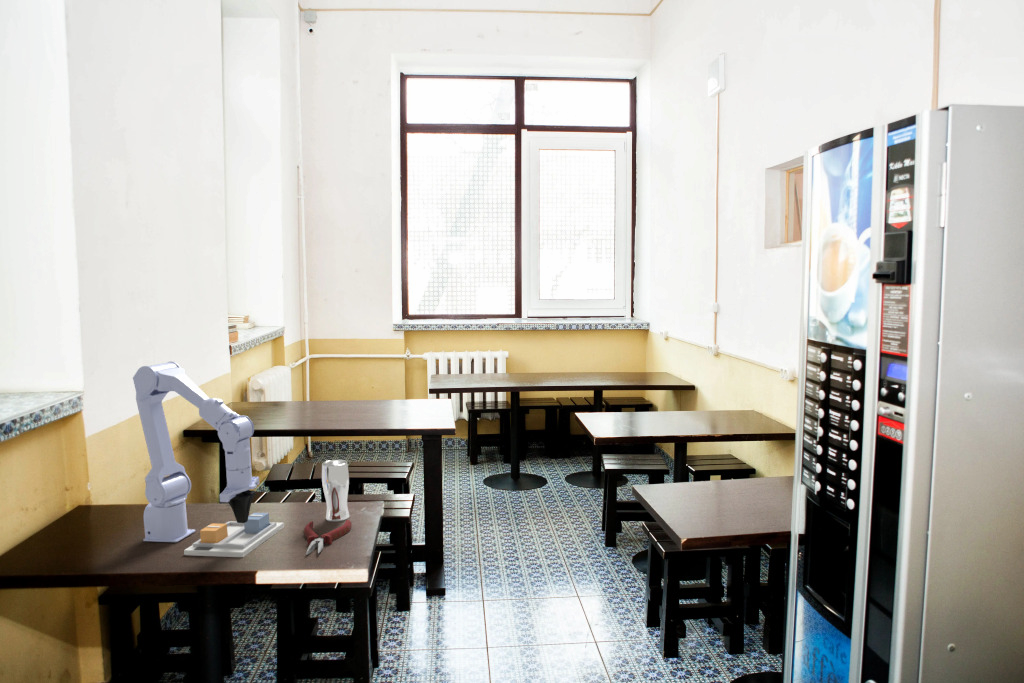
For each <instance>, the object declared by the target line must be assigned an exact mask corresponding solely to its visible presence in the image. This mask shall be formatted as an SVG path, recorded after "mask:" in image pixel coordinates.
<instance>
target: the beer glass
mask: <svg viewBox="0 0 1024 683" xmlns="http://www.w3.org/2000/svg"><path fill="white" fill-rule="evenodd" d="M349 473H350V472H349V466H348V461H347V460H345V459H332V460H326V461H323V462H322V463H321V482H322V488H323V489H322V490H323V493H324V498H325V502H326V512H325V513H326V514H325V520H326V521H328V522H332V523H333V522H335V523H336V522H341V521H342V522H343V521H346V520H349V518H350V512H349V507H348V495H349V485H350V475H349Z"/></svg>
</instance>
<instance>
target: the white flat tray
mask: <svg viewBox="0 0 1024 683" xmlns="http://www.w3.org/2000/svg"><path fill="white" fill-rule="evenodd" d="M269 523H270V525H269V526H268V527H266V528H265V529H263V530H262V531H261V532H259V533H245V528H244V523H237V521H236V520H235V521H232V520H229V521H226V522H225V523H224V524H227V532H228V537H226V538H225V539H223V540H222V541H220V542H219V543H201V538H199V539H198V540H196V541H195V542H193V543H192V545H190V546H188V547H187V548H185V549H184V550H183V551H184V552H183V553H184V554H183V555H184V556H198V557H199V556H200V557H202V556H203V557H224V558H225V557H226V558H227V557H228V558H244V557H245V556H247V555H249V554H250V553H251V552H252V551H254V550H255V549H256V548H258V547H260V545H262V544H264V543H265V542H266V541H267V540H269V539H270V538H271V537H273V536H274V535H275V534H277V533H278V532H280V530H282V529H284V528H285V522H278V521H277V522H275V521H273V522H271V521H269Z"/></svg>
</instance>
